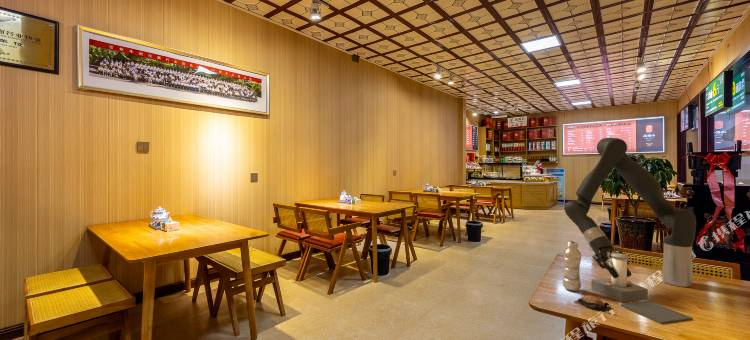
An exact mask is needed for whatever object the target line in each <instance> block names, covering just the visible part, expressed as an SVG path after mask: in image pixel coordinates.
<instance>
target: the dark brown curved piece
mask: <svg viewBox="0 0 750 340" xmlns="http://www.w3.org/2000/svg"><path fill="white" fill-rule="evenodd" d="M573 304H576V305H579V306H581V307H584V308H586V309H590V310H593V311H596V312H602V313H606V312H608V311H611V310H612V308H613V307H612V305H610V304H609V302H604V301H603V300H601V299H600V298H598V297H596V296H594V295H589V294H588V295H584V296H581V298H577V300H575V301H573Z"/></svg>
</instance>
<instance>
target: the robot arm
mask: <svg viewBox="0 0 750 340" xmlns="http://www.w3.org/2000/svg"><path fill="white" fill-rule="evenodd" d="M627 150H628V144H627V143H626V141H625V140H623V139H622V138H617V137H605V138H601V139H600V140H599V141H598V142H597V143H596V151H597V153H598V154H599V156H600V158H599V160H598V162H597V164H596V165H595V166H594V167H593V169H592V170H591V171H590V172H589V173H588V174H587V175H585V177H584V178H583V180H582V181H581V182H580V185H579V186H578V188H577V190H576V191H575V192H576V193H575V195H576V196H577V199H576V200H575V201H574V200H569V201H567V202H566V203H565V204H564V205H563V206H564V207H563V209H564V212H565V214H566V216H567V217H568V218H569V219H570V220H571V221H572V222H573V224H575V226H576V227H577V228H578V230H579V231H580V232H581V234H582V235H583V237H584V239H585V241H586V242H587V244H588V245H589V246H590V248H591V250H592V251H593V253H594V254H593V255H592V258H593V259H594V261H595V262H596V263H597V264H598V265H599V267H600V268H601V269H602V270H605V269H606V270H607V271H608V272H609V274H610V275H612V276H613V278H617V277H619V275H618V273H617V272H616V270H615V269H614V267H612V257H611V253H620V254H624V252H623V251H616V250H614V248H613V247H614V245H613V243H612V242H611V241H610V240H609V238H608V236H607V235H606V234H605V232H604V231H603V230H602V229H601V228H600V227H599V225H598V224H597V223H596V222H595V220H594V219H593V218H592V217H590V216H588V213H589V211H590V210H591V209H590V208H591V205H592V202H593V198H594V197H595V196H596V194H597V192H598V190H599V188H600V186H601V185H602V184H603V182H604V181H605V179H606V178H607V176H608V175H609V173H611V171H613V169H615V171H617V172H618V174H619V175H620V177H622V178H623V179H624V181H626V183H627V184H628V185H629V186H630V188H631V189H632V190H633V191H634V192H635V194H637V195H638V196H639V197H640V198H641V199H642V200H643V201H644V202H645V204H646V205H647V206H648V207H649V208H650V209H651V210H652V212H653V213H654V215H656V217H657V218H658V220H659V221H660V222H661V223H662V224H663V226H665V227H667V228H671V234H669V235H665V236H664V238H663V257H662V259H663V260H662V262H663V263H662V265H663V266H662V281H663V283H666V284H668V285H671V286H677V287H681V288H682V287H684V288H685V287H686V288H687V287H688V288H689V287H691V286H692V285H693V266H694V265H693V262H692V258H693V242H694V240H695V239H696V229H697V218H696V215H695V213H694V212H692V210H689V209H684V208H680V207H679V208H678V207H675V206H674V205H673V204H672V203H670V201H668V200H667V199H666V198H665V196H664V193H663V190H662V186H661V184H660V182H659V181H658V179H656V177H655V176H654V175H653V174H652V173H651V172H650V171H648V169H646V168H645V167H644V166H642V165H641V164H639V163H638V162H636V161H635V160H633V158H631V157H630V156H629V155H628V153H627ZM629 264H630V262H629V261H628V260H627V266H628V265H629ZM631 276H632V272H631V271H630V269H629V268H628V267H627V278H629V277H631Z"/></svg>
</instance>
